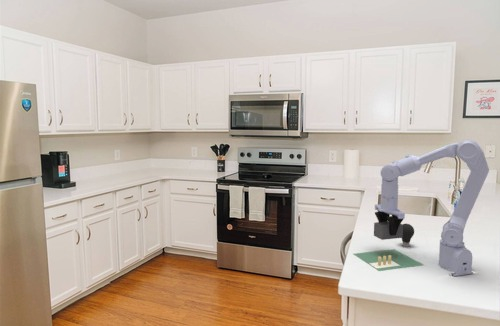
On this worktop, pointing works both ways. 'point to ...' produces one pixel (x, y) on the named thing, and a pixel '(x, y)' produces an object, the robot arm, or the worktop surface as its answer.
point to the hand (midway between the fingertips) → (388, 232)
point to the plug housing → (386, 231)
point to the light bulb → (407, 234)
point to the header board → (387, 260)
